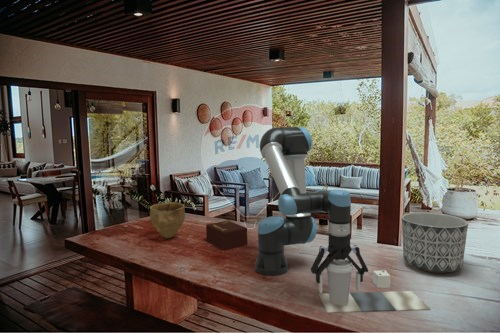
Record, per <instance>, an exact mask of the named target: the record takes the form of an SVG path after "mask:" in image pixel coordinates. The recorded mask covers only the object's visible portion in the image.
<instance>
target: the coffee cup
mask: <svg viewBox="0 0 500 333" xmlns="http://www.w3.org/2000/svg"><path fill="white" fill-rule="evenodd" d="M353 267H354V266H353V265H352V263H351V262H350V261H349V260H348V259H347V258H346V259H344V260H341V259H339V260H335V259H334V260H333V261H332V262H330V263H329V265H328V266H327V267H326V268H325V269H326V271H327V272H326V273H327V274H326V275H327V283H328V284H327V285H328V286H327V287H328V293H329V298H330V303H331V304H333V305H336V306H346V305H347V304H348V300H349V293H350V288H351V281H352V280H351V278H352V272H353V270H354V268H353Z"/></svg>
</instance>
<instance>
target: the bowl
mask: <svg viewBox="0 0 500 333" xmlns="http://www.w3.org/2000/svg"><path fill="white" fill-rule="evenodd" d="M149 210H150V211H149V212H150V213H149V220H150V223H151V225H152V227H153V229H155V230H156V231H157V232H158V233H159V235H161V237H164V238H165V239H171V238H172V237H174V236H175V235H176V234H177V233H178V231H179V230H180V228H181V227H182V226H183V224H184V221H185V219H186V218H185V217H186V210H185V204H183V203H180V202H175V201H174V202H162V203H155V204H153V205H151V206H150V207H149Z"/></svg>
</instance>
